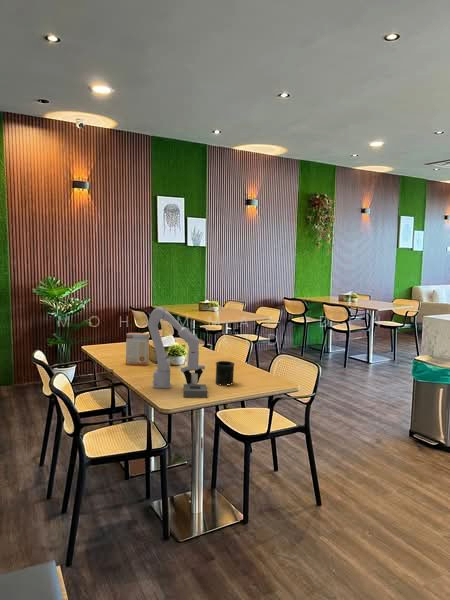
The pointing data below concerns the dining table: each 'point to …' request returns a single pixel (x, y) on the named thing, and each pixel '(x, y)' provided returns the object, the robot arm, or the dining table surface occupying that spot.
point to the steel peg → (194, 378)
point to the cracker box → (137, 349)
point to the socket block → (195, 390)
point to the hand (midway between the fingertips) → (192, 383)
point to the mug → (224, 372)
